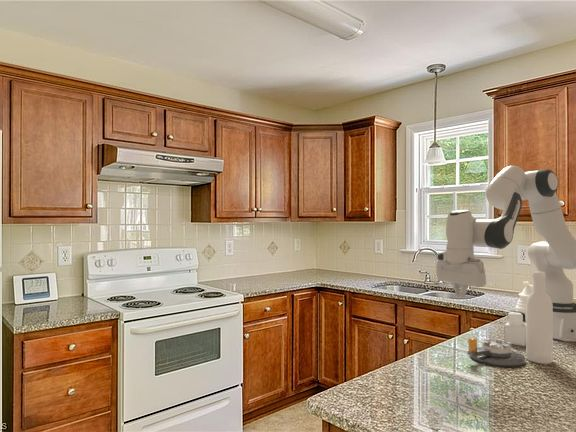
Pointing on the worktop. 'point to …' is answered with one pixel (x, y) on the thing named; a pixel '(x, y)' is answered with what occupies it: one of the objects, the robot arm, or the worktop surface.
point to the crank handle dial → (490, 348)
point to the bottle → (539, 323)
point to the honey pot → (524, 298)
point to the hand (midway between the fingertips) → (460, 296)
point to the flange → (500, 360)
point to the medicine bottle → (515, 328)
